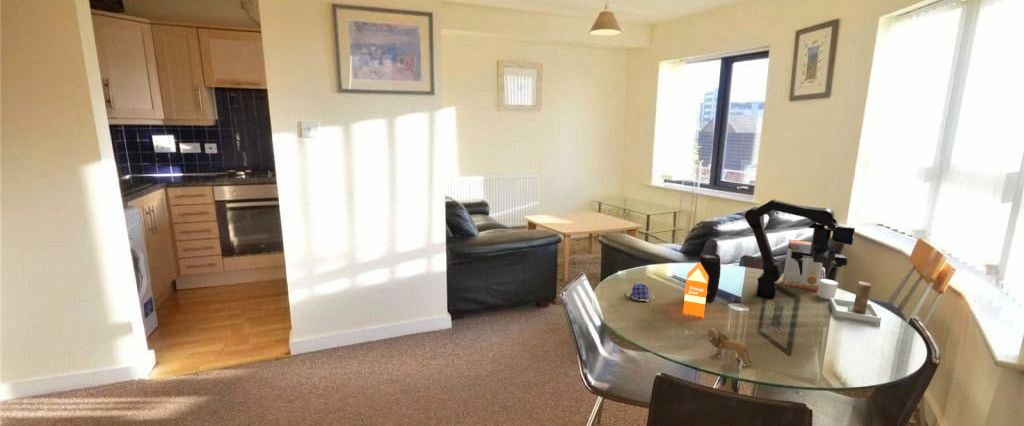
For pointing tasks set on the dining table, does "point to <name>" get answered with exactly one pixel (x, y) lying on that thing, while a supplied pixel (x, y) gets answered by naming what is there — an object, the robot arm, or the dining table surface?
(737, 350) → the lion figurine
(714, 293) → the black tall cylinder
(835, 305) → the tray
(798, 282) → the cracker box
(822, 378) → the dining table surface
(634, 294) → the plaid hat
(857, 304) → the wooden post with base
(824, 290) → the white cylinder
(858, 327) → the dining table surface
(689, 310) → the orange juice
